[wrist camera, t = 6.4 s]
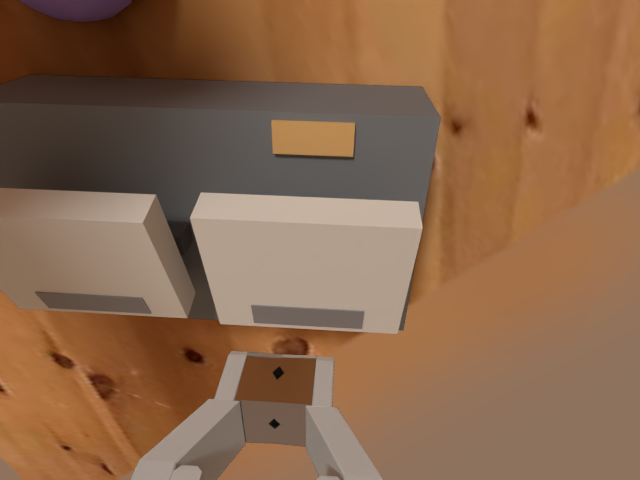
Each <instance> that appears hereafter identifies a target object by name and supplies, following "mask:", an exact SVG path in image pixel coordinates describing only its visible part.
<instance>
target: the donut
mask: <svg viewBox="0 0 640 480" xmlns="http://www.w3.org/2000/svg"><path fill="white" fill-rule="evenodd" d="M19 1H21V2H22V3H24V4H25V5H27V6H29V7H31V8H32V9H34V10H36V11H38V12H40V13H42V14H45V15H47V16H50V17H52V18H54V19H57V20H66V21H73V22H89V21H98V20H103V19H109V18H113V17H114V16H115V15H116V14H117V13H119V12H120V11H121V10H123V9H124V8H125V7H127V6H128V5H130V3H131V2H132V1H133V0H19Z"/></svg>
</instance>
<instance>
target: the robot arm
mask: <svg viewBox="0 0 640 480" xmlns="http://www.w3.org/2000/svg"><path fill="white" fill-rule="evenodd" d="M333 382H334V357H319V356H317V358H316V356H305V355H285V354H283V355H277V354H266V353H255V352H241V351H231V352H230V354H229V355H228V358H227V361H226V364H225V367H224V370H223V373H222V376H221V379H220V382H219V385H218V388H217V391H216V395H215V398H214V399H208V400H207V401H206V402H205V403H204V404H202V405H201V406H200V407H199V408H198V409H197V410H196V411H194V412H193V413H192V414H191V415H190V416H189V417H188V418H187V419H185V420H184V421H183V422H182V423H181V424H180V425H179V426H177V427H176V428H175V429H174V430H173V431H172V432H171V433H170V434H168V435H167V436H166V437H165V438H164V439H163V440H162V441H160V442H159V443H158V444H157V445H156V446H155V447H154V448H152V449H151V450H150V451H149V452H148V453H147V454H146V455H145V456H143V457H142V458H141V459H140V460H139V462H138V464H137V467H136V469H135V471H134V473H133V476H132V478H131V480H217V479H218V477H219V476H220V475H221V474H222V473H223V471H224V470H225V469H226V468H227V466H228V465H229V464H230V463H231V461H232V460H233V459H234V458H235V457H236V455H237V454H238V453H239V452H240V450H241V449H242V448H243V447H244V445H245V442H249V443H250V442H251V443H274V444H275V443H276V444H284V445H295V446H304V447H306V450H307V452H308V454H309V456H310V458H311V461H312V463H313V465H314V467H315V469H316V472H317V474H318V476H319V477H318V478H317V479H316V480H383V479H382V477H381V476H380V474H379V472H378V471H377V469H376V468H375V466H374V464H373V463H372V461H371V460H370V458H369V457H368V455H367V453H366V452H365V450H364V449H363V447H362V446H361V444H360V442H359V441H358V439H357V438H356V436H355V435H354V433H353V431H352V430H351V428H350V427H349V425H348V423H347V422H346V420H345V419H344V417H343V415H342V414H341V412H340V411H339V409H338V408H336V407H332V404H333Z"/></svg>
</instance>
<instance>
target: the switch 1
mask: <svg viewBox="0 0 640 480" xmlns="http://www.w3.org/2000/svg"><path fill="white" fill-rule="evenodd" d="M0 290H1V291H2V292H3V293H4V294H5V295H6V296H7V297H8V298H9V299H10V300H11V301H12V302H13V303H14V304H15V305H16V306H17V307H18V308H19V309H30V310H48V311H66V312H83V313H101V314H119V315H137V316H155V317H172V318H188V315H189V312H190V309H191V306H192V302H193V299H194V296H195V293H196V292H195V289H194V287H193V285H192V282H191V280H190V277H189V275H188V272H187V270H186V267H185V265H184V262H183V260H182V257H181V255H180V252H179V250H178V247H177V245H176V242H175V240H174V238H173V235H172V233H171V230H170V228H169V225H168V223H167V220H166V218H165V215H164V213H163V210H162V208H161V205H160V203H159V200H158V198H157V196H156V195H155V194H131V193H108V192H85V191H62V190H39V189H16V188H0Z"/></svg>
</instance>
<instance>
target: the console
mask: <svg viewBox="0 0 640 480" xmlns="http://www.w3.org/2000/svg"><path fill="white" fill-rule="evenodd" d="M440 119H441V117H440V115H439V114H438V112H437V110H436V109H435V107H434V105H433V104H432V102H431V100H430V99H429V97H428V95H427V94H426V92H425V90H424V89H423V87H415V86H382V85H350V84H318V83H285V82H253V81H221V80H188V79H156V78H124V77H91V76H59V75H27V76H24V77H21V78H18V79H15V80H12V81H9V82H6V83H3V84H0V188H16V189H39V190H62V191H85V192H108V193H131V194H155V195H156V196H157V198H158V200H159V203H160V205H161V208H162V210H163V213H164V215H165V218H166V220H167V223H168V225H169V228H170V230H171V233H172V235H173V238H174V240H175V242H176V245H177V247H178V250H179V252H180V255H181V257H182V260H183V262H184V265H185V267H186V270H187V272H188V275H189V277H190V280H191V282H192V285H193V287H194V289H195V292H196V293H195V296H194V299H193V302H192V306H191V309H190V312H189V315H188V318H191V319H209V320H219V318H218V315H217V311H216V308H215V304H214V301H213V297H212V294H211V290H210V287H209V283H208V280H207V276H206V273H205V269H204V266H203V262H202V259H201V255H200V252H199V248H198V245H197V241H196V238H195V234H194V231H193V228H192V224H191V221H190V216H191V214H192V212H193V209H194V207H195V205H196V203H197V200H198V198H199V196H200V193H201V192H203V193H226V194H250V195H273V196H297V197H320V198H343V199H367V200H390V201H413V202H418V203H419V209H420V215H421V221H423V216H424V210H425V204H426V198H427V193H428V187H429V181H430V176H431V170H432V164H433V159H434V153H435V147H436V142H437V136H438V130H439V125H440ZM415 261H416V259H415ZM414 267H415V263H414ZM414 267H413V271H412V276H411V280H410V284H409V288H408V292H407V296H406V301H405V305H404V309H403V313H402V317H401V321H400V326H399V330H403V329H404V323H405V318H406V312H407V307H408V301H409V295H410V289H411V284H412V278H413V272H414Z"/></svg>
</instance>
